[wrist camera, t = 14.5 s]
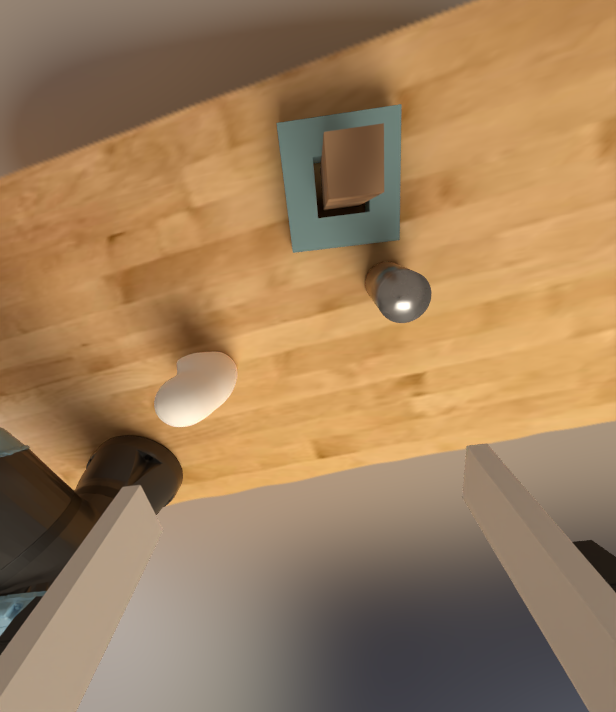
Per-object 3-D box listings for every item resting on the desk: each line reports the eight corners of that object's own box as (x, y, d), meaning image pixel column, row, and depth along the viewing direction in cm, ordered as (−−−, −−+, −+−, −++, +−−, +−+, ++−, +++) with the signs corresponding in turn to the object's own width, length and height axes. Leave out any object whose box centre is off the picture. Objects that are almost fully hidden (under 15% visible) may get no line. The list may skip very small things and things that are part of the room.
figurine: (190, 341, 41) (143, 383, 30) (243, 353, 41) (216, 397, 30) (187, 384, 44) (144, 436, 33) (236, 394, 44) (210, 449, 33)
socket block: (294, 250, 35) (293, 252, 33) (280, 132, 31) (276, 123, 28) (392, 239, 35) (399, 239, 32) (393, 115, 30) (401, 104, 27)
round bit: (370, 306, 38) (384, 329, 29) (360, 268, 36) (372, 280, 27) (408, 294, 37) (435, 314, 28) (400, 255, 35) (426, 263, 26)
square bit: (323, 210, 34) (328, 199, 21) (320, 171, 32) (323, 132, 19) (357, 206, 33) (384, 192, 21) (356, 166, 32) (383, 123, 19)
